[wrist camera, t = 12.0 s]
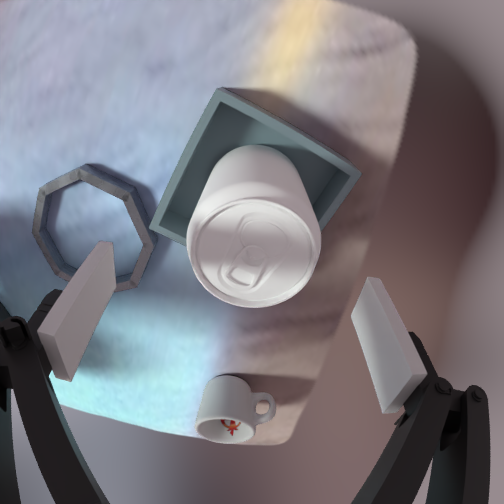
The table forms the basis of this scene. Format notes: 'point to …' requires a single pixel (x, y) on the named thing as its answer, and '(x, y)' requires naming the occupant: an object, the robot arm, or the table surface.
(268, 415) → the cup
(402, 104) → the table surface
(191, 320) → the table surface
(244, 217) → the beverage can
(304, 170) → the bin
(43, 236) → the collar
